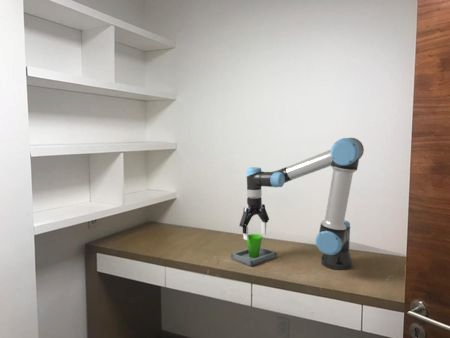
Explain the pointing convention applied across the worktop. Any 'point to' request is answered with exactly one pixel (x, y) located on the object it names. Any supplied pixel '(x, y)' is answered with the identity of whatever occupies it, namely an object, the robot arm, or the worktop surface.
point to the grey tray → (245, 259)
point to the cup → (254, 245)
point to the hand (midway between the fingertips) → (254, 236)
